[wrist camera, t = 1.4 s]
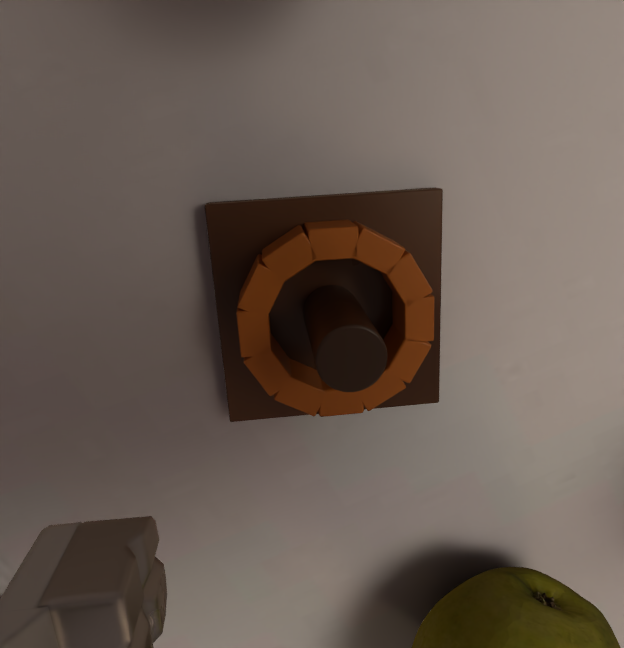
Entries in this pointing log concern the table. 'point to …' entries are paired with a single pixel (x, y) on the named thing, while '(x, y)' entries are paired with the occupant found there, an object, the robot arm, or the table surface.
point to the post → (324, 293)
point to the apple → (514, 615)
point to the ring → (401, 340)
